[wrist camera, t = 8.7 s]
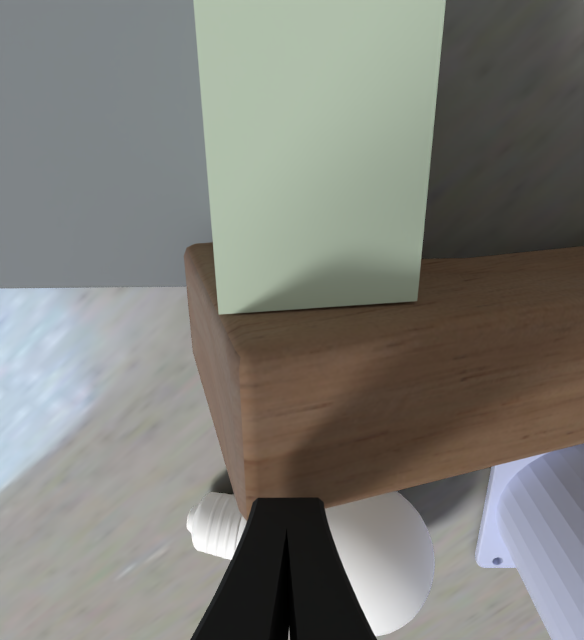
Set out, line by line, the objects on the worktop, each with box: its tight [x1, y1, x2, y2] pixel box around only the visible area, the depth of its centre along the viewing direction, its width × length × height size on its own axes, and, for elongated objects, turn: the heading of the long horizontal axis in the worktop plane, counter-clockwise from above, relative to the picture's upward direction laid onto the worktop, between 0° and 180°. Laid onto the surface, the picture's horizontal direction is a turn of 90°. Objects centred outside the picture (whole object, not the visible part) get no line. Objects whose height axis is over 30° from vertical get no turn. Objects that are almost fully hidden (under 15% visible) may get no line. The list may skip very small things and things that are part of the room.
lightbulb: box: [187, 491, 435, 636], centre depth 21 cm, size 6×6×11 cm
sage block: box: [193, 0, 446, 315], centre depth 13 cm, size 4×8×8 cm, turn 1°
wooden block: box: [184, 242, 584, 521], centre depth 16 cm, size 9×4×18 cm
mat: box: [0, 0, 213, 288], centre depth 16 cm, size 14×12×1 cm
